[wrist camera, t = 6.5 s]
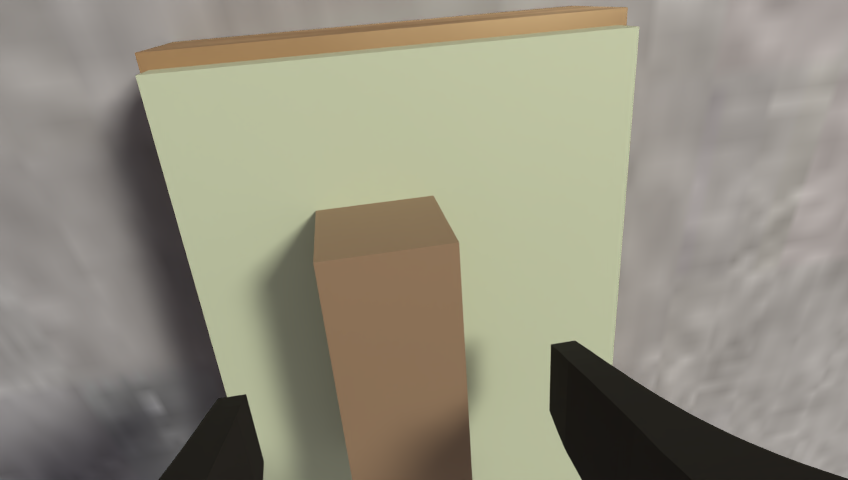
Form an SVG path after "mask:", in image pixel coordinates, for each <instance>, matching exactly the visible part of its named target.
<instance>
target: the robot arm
mask: <svg viewBox="0 0 848 480" xmlns="http://www.w3.org/2000/svg"><path fill="white" fill-rule="evenodd" d="M549 411H550V414H551V416H552V419H553V421H554V424H555V427H556V429H557V432H558V434H559V436H560V439H561V441H562V444H563V446H564V448H565V450H566V452H567V454H568V456H569V458H570V460H571V461H572V463H573V465H574V467H575V469H576V470H577V472H578V474H579V476H580V478H581V479H582V480H848V479H847V478H844V477H841V476H838V475H835V474H832V473H829V472H826V471H823V470H820V469H817V468H814V467H811V466H808V465H805V464H802V463H800V462H797V461H794V460H791V459H789V458H786V457H783V456H781V455H778V454H776V453H773V452H771V451H769V450H766V449H764V448H761V447H759V446H756V445H754V444H752V443H749V442H747V441H745V440H742V439H740V438H738V437H736V436H733V435H731V434H729V433H727V432H725V431H723V430H721V429H719V428H717V427H715V426H713V425H711V424H709V423H707V422H705V421H703V420H701V419H699V418H697V417H695V416H693V415H691V414H689V413H688V412H686V411H684V410H682V409H681V408H679V407H677V406H675V405H674V404H672V403H670V402H668V401H667V400H665V399H663V398H662V397H660V396H658V395H657V394H655V393H653V392H652V391H650V390H648V389H647V388H645V387H644V386H642V385H641V384H639V383H638V382H636V381H634V380H633V379H631V378H630V377H628V376H627V375H625V374H624V373H622V372H621V371H619V370H618V369H616V368H615V367H613V366H612V365H611V364H609V363H608V362H606V361H605V360H603V359H602V358H600V357H599V356H597V355H596V354H595V353H593V352H592V351H590V350H589V349H587V348H586V347H584V346H583V345H581V344H580V343H578V342H577V341H569V342H563V343H556V344H551V361H550V404H549ZM263 472H264V459H263V456H262V452H261V448H260V444H259V441H258V437H257V433H256V429H255V426H254V422H253V418H252V415H251V411H250V407H249V403H248V400H247V396H246V394H243V395H237V396H231V397H225V398H219V399H218V400H217V401H216V402H215V404H214V405H213V406H212V408H211V409H210V410H209V412H208V413H207V415H206V416H205V418H204V419H203V420H202V422H201V423H200V425H199V426H198V428H197V429H196V430H195V432H194V433H193V435H192V436H191V437H190V439H189V440H188V442H187V443H186V444H185V446H184V447H183V448H182V450H181V451H180V452H179V454H178V455H177V456H176V458H175V459H174V460H173V462H172V463H171V464H170V466H169V467H168V468H167V470H166V471H165V472H164V474H163V475H162V476H161V477H160V479H159V480H263Z"/></svg>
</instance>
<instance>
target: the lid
mask: <svg viewBox="0 0 848 480" xmlns="http://www.w3.org/2000/svg"><path fill="white" fill-rule="evenodd" d="M638 36H639V27H636V26H625V25H614V26H604V27H593V28H583V29H572V30H562V31H552V32H541V33H531V34H520V35H510V36H499V37H489V38H479V39H468V40H458V41H447V42H437V43H427V44H416V45H406V46H395V47H385V48H375V49H364V50H354V51H343V52H333V53H322V54H312V55H302V56H291V57H281V58H270V59H260V60H250V61H239V62H229V63H218V64H208V65H197V66H187V67H177V68H166V69H156V70H148V71H146V72H143V73H141V74H138V75H136V80H137V83H138V87H139V90H140V94H141V97H142V101H143V104H144V108H145V111H146V115H147V118H148V122H149V125H150V129H151V132H152V136H153V139H154V143H155V146H156V150H157V153H158V157H159V160H160V164H161V167H162V171H163V174H164V178H165V181H166V185H167V188H168V192H169V195H170V199H171V202H172V206H173V209H174V213H175V216H176V220H177V223H178V227H179V230H180V234H181V237H182V241H183V244H184V248H185V251H186V255H187V258H188V262H189V265H190V269H191V272H192V276H193V279H194V283H195V286H196V290H197V293H198V297H199V300H200V304H201V308H202V311H203V315H204V318H205V322H206V325H207V329H208V332H209V336H210V339H211V343H212V346H213V350H214V353H215V357H216V360H217V364H218V367H219V371H220V374H221V378H222V381H223V385H224V388H225V392H226V395H227V397H231V396H237V395H243V394H246V396H247V400H248V403H249V407H250V411H251V415H252V418H253V422H254V426H255V429H256V433H257V437H258V441H259V444H260V448H261V452H262V456H263V459H264V472H263V480H582V479H581V478H580V476H579V474H578V472H577V470H576V469H575V467H574V465H573V463H572V461H571V460H570V458H569V456H568V454H567V452H566V450H565V448H564V446H563V444H562V441H561V439H560V436H559V434H558V432H557V429H556V427H555V424H554V421H553V419H552V416H551V414H550V411H549V404H550V361H551V344H556V343H563V342H569V341H577V342H578V343H580V344H581V345H583V346H584V347H586V348H587V349H589V350H590V351H592V352H593V353H595V354H596V355H597V356H599V357H600V358H602V359H603V360H605V361H606V362H608V363H609V364H611V365H612V362H613V349H614V337H615V324H616V312H617V299H618V287H619V274H620V262H621V249H622V237H623V224H624V212H625V199H626V186H627V174H628V161H629V149H630V136H631V124H632V111H633V99H634V86H635V74H636V61H637V49H638Z"/></svg>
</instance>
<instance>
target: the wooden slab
mask: <svg viewBox="0 0 848 480" xmlns="http://www.w3.org/2000/svg"><path fill="white" fill-rule="evenodd" d="M627 10H628V7H591V6H566V7H555V8H544V9H533V10H522V11H511V12H500V13H489V14H478V15H467V16H456V17H445V18H434V19H423V20H412V21H401V22H390V23H379V24H368V25H357V26H346V27H335V28H324V29H313V30H302V31H291V32H280V33H269V34H258V35H247V36H236V37H225V38H213V39H202V40H191V41H180V42H172V43H168V44H165V45H161V46H158V47H154V48H151V49H147V50H144V51H140V52H136V53H135V55H136V59H137V63H138V66H139V70H140V73H143V72H146V71H148V70H156V69H166V68H177V67H187V66H197V65H208V64H218V63H229V62H239V61H250V60H260V59H270V58H281V57H291V56H302V55H312V54H322V53H333V52H343V51H354V50H364V49H375V48H385V47H395V46H406V45H416V44H427V43H437V42H447V41H458V40H468V39H479V38H489V37H499V36H510V35H520V34H531V33H541V32H552V31H562V30H572V29H583V28H593V27H604V26H614V25H625V26H626V24H627Z"/></svg>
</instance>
